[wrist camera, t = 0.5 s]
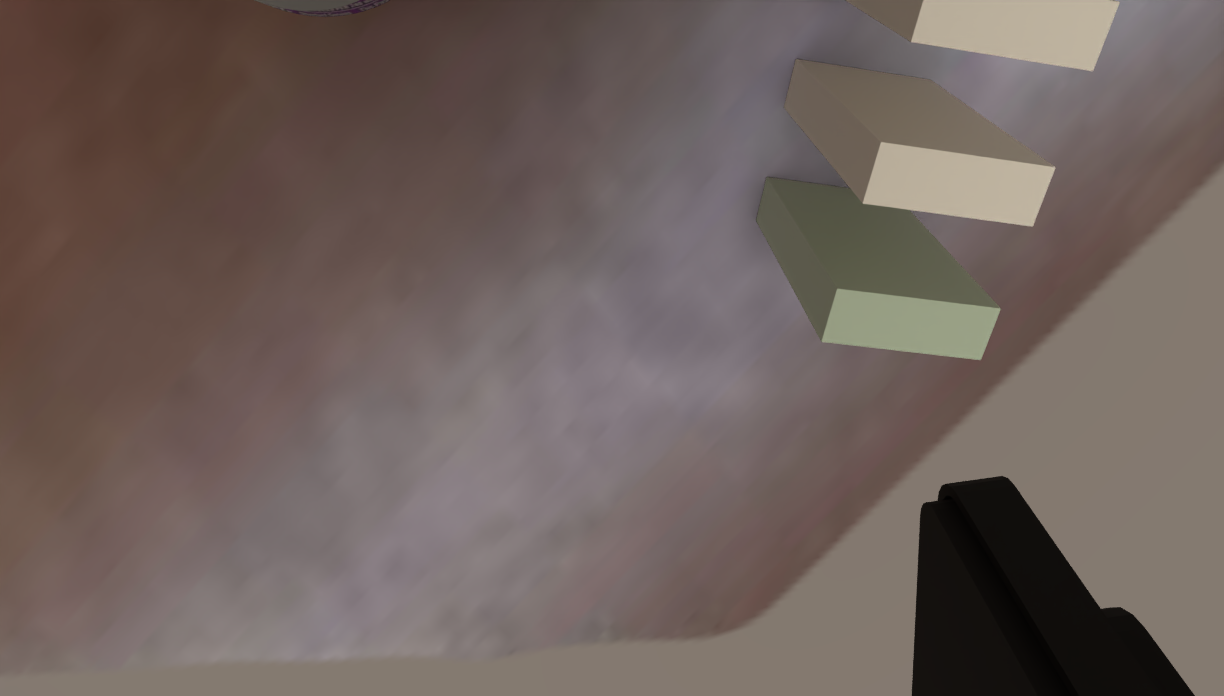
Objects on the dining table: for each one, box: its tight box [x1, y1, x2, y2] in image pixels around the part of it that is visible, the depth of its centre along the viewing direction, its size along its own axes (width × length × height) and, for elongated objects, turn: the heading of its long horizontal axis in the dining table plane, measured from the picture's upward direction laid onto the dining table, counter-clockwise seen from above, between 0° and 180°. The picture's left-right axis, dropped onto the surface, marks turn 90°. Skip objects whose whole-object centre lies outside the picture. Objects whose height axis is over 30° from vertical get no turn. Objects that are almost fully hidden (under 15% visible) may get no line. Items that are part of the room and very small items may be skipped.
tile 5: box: [756, 177, 1001, 360], centre depth 34 cm, size 2×5×10 cm, turn 80°
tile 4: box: [784, 59, 1056, 227], centre depth 32 cm, size 2×5×10 cm, turn 81°
